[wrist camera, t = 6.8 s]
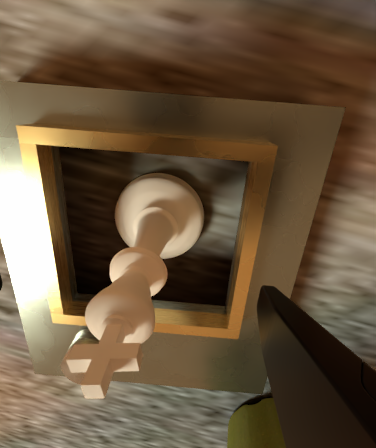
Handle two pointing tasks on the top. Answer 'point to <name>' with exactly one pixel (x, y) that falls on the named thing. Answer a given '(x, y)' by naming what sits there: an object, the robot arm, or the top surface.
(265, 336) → the robot arm
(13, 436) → the top surface
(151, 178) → the chess piece
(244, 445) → the plant pot
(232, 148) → the grey hollow block
